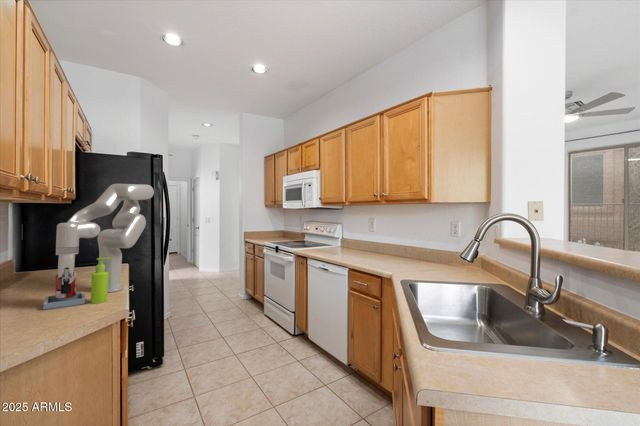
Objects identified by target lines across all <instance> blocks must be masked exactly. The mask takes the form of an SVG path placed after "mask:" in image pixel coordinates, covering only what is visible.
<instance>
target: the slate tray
mask: <svg viewBox="0 0 640 426" xmlns="http://www.w3.org/2000/svg"><path fill="white" fill-rule="evenodd" d="M85 304H86V297H85V292H84V291H81V292H76V295H75V296H74V297H73V298H70V299H64V300H59V299H56V298H55V295H48V296H45V298H44V301H43V309H42V311H47V310H56V309H62V308H63V309H64V308H69V307H76V306H77V307H78V306H83V305H85Z"/></svg>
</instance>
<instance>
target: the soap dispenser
mask: <svg viewBox="0 0 640 426" xmlns="http://www.w3.org/2000/svg"><path fill="white" fill-rule="evenodd" d="M103 259H110V260H111V259H112V258H108V257H102V258H99V257H97V258H96V261H97V260H98V264H96V265H95V272H92V273H91V287H90V289H91V290H90V304H93V305H94V304H96V305H98V304H103V303H106V302H108V293H109V292H108V272H105V265H104V264H103Z"/></svg>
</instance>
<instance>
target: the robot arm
mask: <svg viewBox="0 0 640 426" xmlns="http://www.w3.org/2000/svg"><path fill="white" fill-rule="evenodd" d="M154 194H155V191H154V188H153V187H152V186H151V185H150V184H144V183H143V184H142V183H141V184H140V183H138V184H137V183H136V184H135V183H113V184H110V186H108V187H107V188H106V190H105V191H103V193H102V194H101V195H100V196H99V197H98V198H97V200H96V201H95V202H94V203H92V204H91V203H90V204H89V205H88V206H85V207H83V208H81V209H80V210H78V211H77V212H76V213H74V214H73V215H72V216H71V217H70V218H69V219H68V220H67V222H60V223H58V224H57V225H56V236H55V239H56V240H55V256H58V261H57V262H58V263H57V274H58V278H60V277H62V284H61V294H65V293H71V283H70V281H71V277H72V276H73V272H75V271H74V270H75V262H76V261H75V259H76V255H79V252H80V248H79V247H80V239H93V238H96V237H97V243H98V244H97V246H98V252H99V253H98V255H99V256H98V258H102V257H108V258H112V259H111V260H110V259H103V264H104V265H105V272H108V292H107V293H113V292H119V291H122V290H124V289H125V285H123V284H122V266H123V265H122V262H123V253H122V251H121V249H129V248H133V246H134V245H135V244H136V243H137V241H138V239H139V238H140V236H141V235H142V233H143V231H144V230H145V228H146V225H147V220H146V217H145V215H143V214H140V212H141V205H140V204H139V201H145V200H149V199H152V198H153V197H154ZM122 201H123V205H122V207H121V208H120V210H119V211H118V212H117V214H116V215H115V217H114V218H113V220H112V223H111V224H112V228H107V229H104V230H102V231H101V227H100V225H98V224H97V223H96V222H91V221H93V220H95V219H99V218H101V217H104V216H107V215H110V214H112V213H113V212H114V211H115V210H116V209H117V207H118V206H119V204H121V202H122ZM63 274H64V276H65V277H63ZM69 274H70V276H69V277H68V275H69ZM68 278H69V279H68Z"/></svg>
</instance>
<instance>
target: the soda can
mask: <svg viewBox="0 0 640 426" xmlns="http://www.w3.org/2000/svg"><path fill="white" fill-rule="evenodd" d="M69 276H70V274H69V275H68V277H69ZM63 277H65V276H64V274H63ZM68 279H69V278H68ZM70 283H71V293H65V294H61V284H62V277H60V278H58V273H57V274H56V275H55V287H54V288H55V291H54V292H55V298H56V299H59V300H64V299H70V298H73V297H74V296H75V295H76V293H77V272H76V271H75V269H74V272H73V276H72V277H71V281H70Z"/></svg>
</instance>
